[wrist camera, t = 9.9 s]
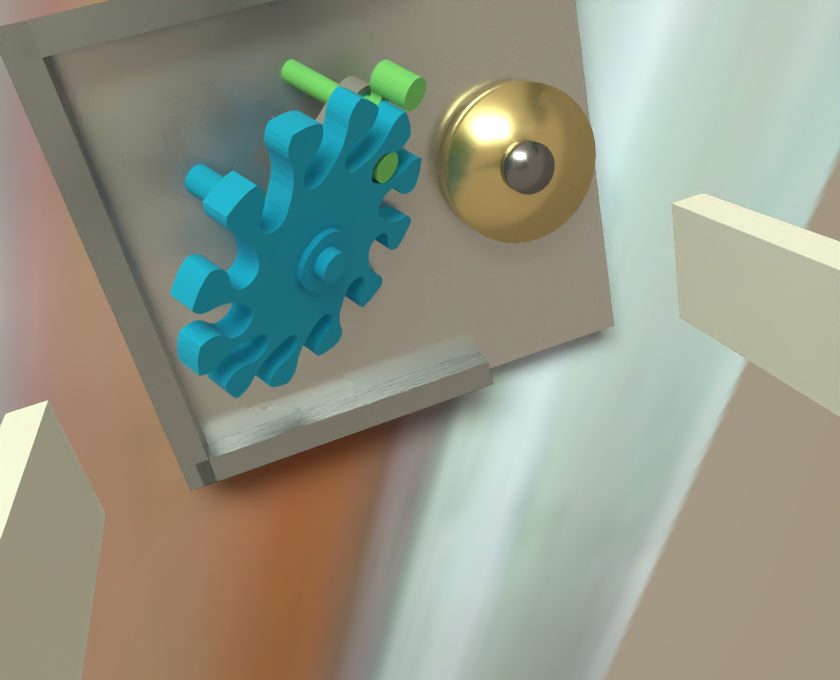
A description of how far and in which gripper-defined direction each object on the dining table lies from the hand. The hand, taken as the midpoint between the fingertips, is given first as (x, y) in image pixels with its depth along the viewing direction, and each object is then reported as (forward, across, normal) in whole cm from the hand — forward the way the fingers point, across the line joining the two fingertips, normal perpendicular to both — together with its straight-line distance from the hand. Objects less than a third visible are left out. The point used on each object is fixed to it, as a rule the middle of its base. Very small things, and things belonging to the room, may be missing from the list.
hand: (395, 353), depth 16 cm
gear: (+13, 0, 0) cm, 13 cm away
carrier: (+14, +2, 0) cm, 14 cm away
